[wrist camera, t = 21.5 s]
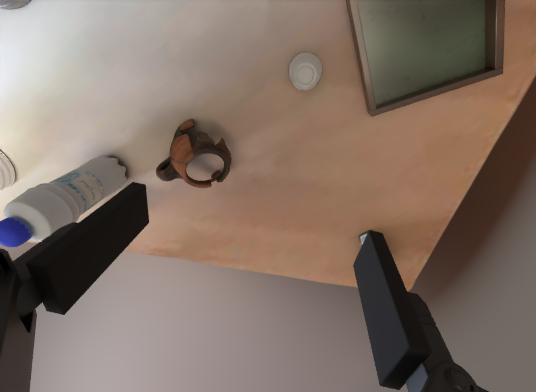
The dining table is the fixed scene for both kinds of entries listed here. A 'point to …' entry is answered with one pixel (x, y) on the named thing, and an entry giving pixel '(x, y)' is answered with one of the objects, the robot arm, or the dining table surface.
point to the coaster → (6, 172)
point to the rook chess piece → (305, 70)
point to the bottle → (59, 201)
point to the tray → (424, 47)
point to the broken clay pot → (185, 152)
